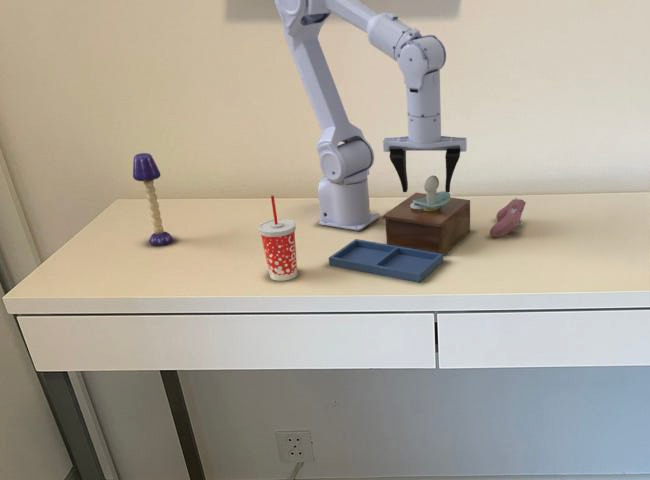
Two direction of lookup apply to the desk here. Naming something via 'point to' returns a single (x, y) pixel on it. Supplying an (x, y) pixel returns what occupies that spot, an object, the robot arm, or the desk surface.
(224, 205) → the desk surface
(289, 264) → the beverage cup
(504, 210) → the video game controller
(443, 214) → the chest lid
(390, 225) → the chest
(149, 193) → the toy lamp
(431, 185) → the pacifier
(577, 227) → the desk surface
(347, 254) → the tray
